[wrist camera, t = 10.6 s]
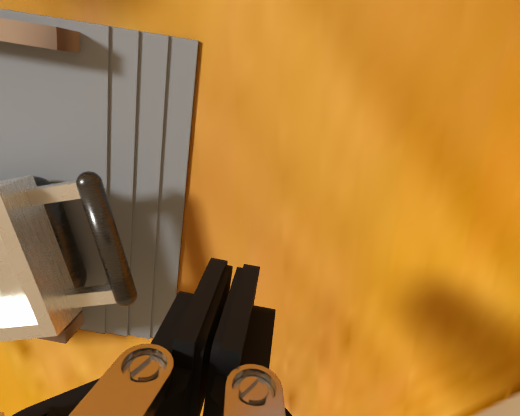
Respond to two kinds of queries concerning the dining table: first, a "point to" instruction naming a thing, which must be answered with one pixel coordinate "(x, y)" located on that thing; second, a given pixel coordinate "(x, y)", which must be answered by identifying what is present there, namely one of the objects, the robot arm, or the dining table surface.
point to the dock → (104, 145)
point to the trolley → (54, 256)
